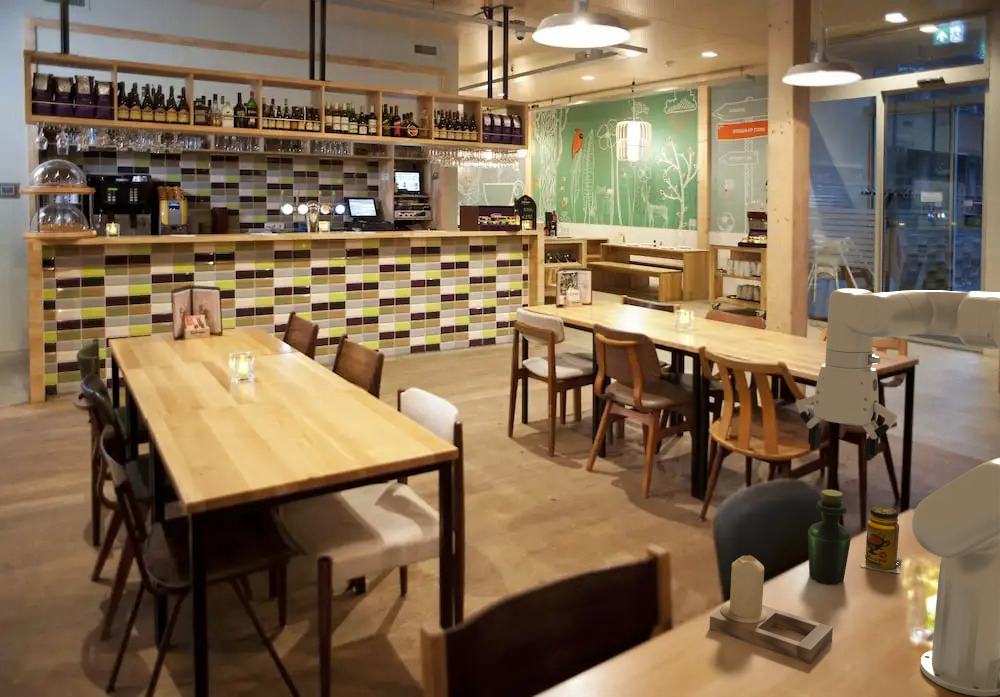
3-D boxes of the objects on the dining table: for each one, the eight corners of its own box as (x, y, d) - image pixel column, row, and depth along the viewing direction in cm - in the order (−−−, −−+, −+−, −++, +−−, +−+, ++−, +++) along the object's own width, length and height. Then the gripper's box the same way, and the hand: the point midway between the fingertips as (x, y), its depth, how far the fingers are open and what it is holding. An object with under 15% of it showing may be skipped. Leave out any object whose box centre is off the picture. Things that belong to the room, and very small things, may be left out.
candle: (763, 620, 150) (766, 566, 148) (730, 617, 151) (733, 563, 150) (760, 606, 155) (763, 553, 154) (728, 603, 157) (731, 551, 155)
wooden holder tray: (832, 640, 149) (833, 625, 148) (809, 663, 141) (810, 648, 141) (734, 609, 160) (735, 595, 160) (709, 629, 153) (710, 614, 152)
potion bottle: (846, 572, 176) (852, 488, 173) (850, 589, 168) (856, 501, 165) (804, 567, 178) (809, 484, 175) (806, 584, 171) (811, 497, 168)
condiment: (860, 567, 179) (864, 512, 177) (864, 553, 186) (868, 500, 184) (899, 574, 175) (903, 518, 173) (901, 559, 183) (906, 505, 181)
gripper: (906, 362, 148) (899, 458, 151) (807, 351, 160) (802, 440, 162) (893, 368, 143) (885, 468, 146) (791, 356, 154) (786, 449, 157)
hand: (841, 453), depth 154 cm, fingers open, 9 cm apart
